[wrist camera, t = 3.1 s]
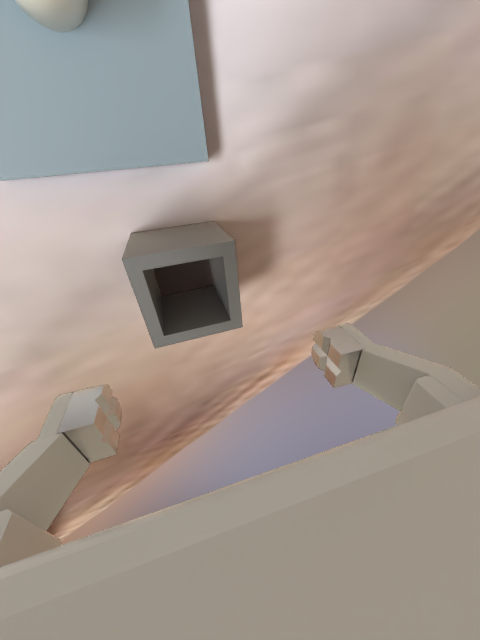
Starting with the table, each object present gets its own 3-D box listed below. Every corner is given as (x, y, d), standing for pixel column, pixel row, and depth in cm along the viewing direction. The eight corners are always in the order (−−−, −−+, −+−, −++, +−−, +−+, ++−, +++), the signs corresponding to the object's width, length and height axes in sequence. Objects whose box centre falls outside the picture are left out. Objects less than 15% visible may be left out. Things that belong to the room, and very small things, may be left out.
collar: (223, 291, 22) (242, 327, 17) (154, 306, 21) (154, 348, 16) (213, 221, 19) (234, 240, 14) (130, 233, 17) (121, 259, 12)
